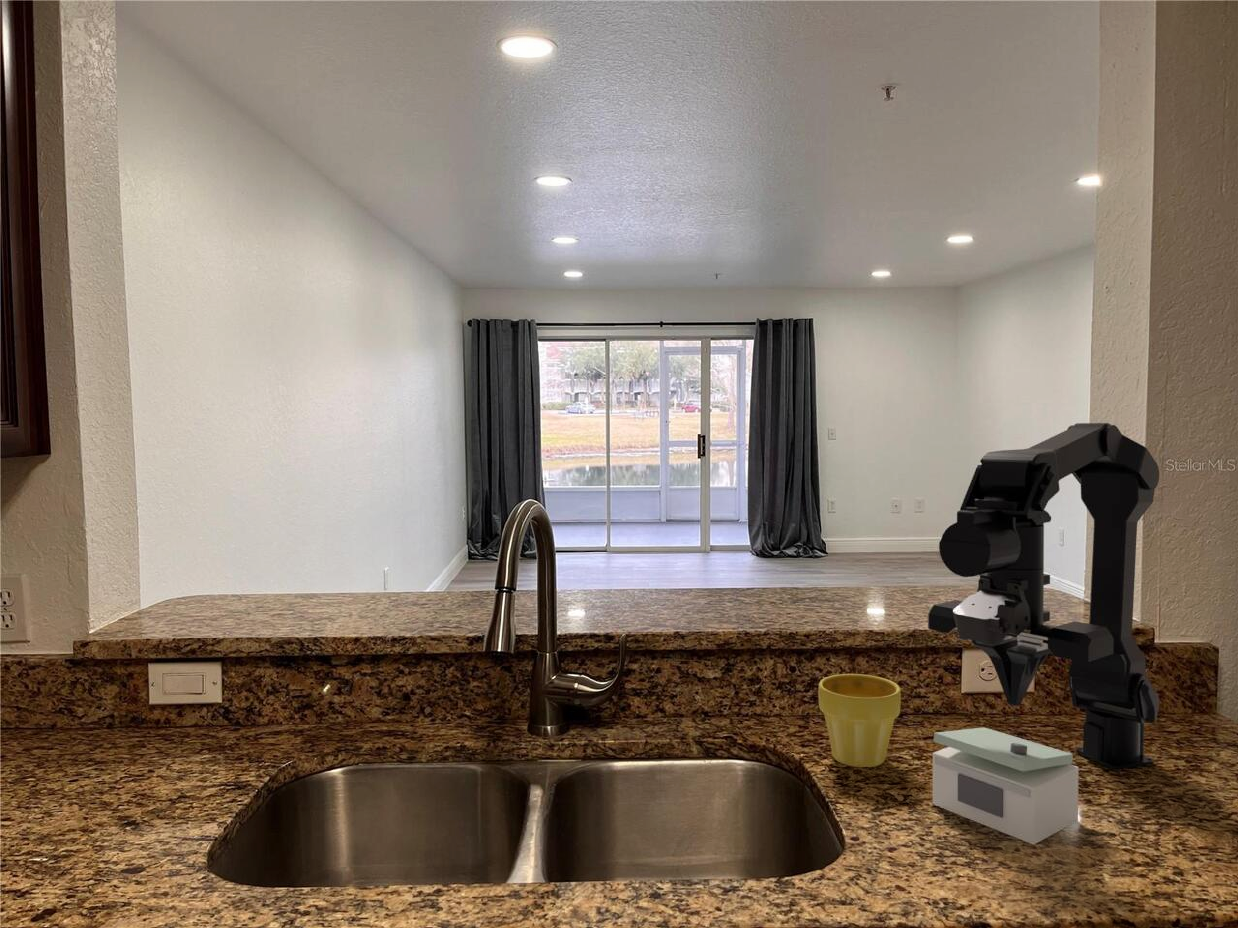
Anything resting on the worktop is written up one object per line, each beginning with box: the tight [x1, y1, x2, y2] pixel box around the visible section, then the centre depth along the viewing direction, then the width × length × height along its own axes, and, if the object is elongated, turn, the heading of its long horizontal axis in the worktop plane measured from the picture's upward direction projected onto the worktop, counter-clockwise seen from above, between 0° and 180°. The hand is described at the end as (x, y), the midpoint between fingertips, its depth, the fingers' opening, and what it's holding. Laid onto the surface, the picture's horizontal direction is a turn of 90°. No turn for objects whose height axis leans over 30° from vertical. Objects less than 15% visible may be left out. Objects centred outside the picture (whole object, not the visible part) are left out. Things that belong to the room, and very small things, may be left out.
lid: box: [933, 727, 1074, 771], centre depth 97 cm, size 10×11×2 cm
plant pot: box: [817, 673, 902, 768], centre depth 113 cm, size 10×10×10 cm
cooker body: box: [932, 746, 1079, 846], centre depth 97 cm, size 9×12×6 cm
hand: (1014, 704), depth 96 cm, fingers closed
